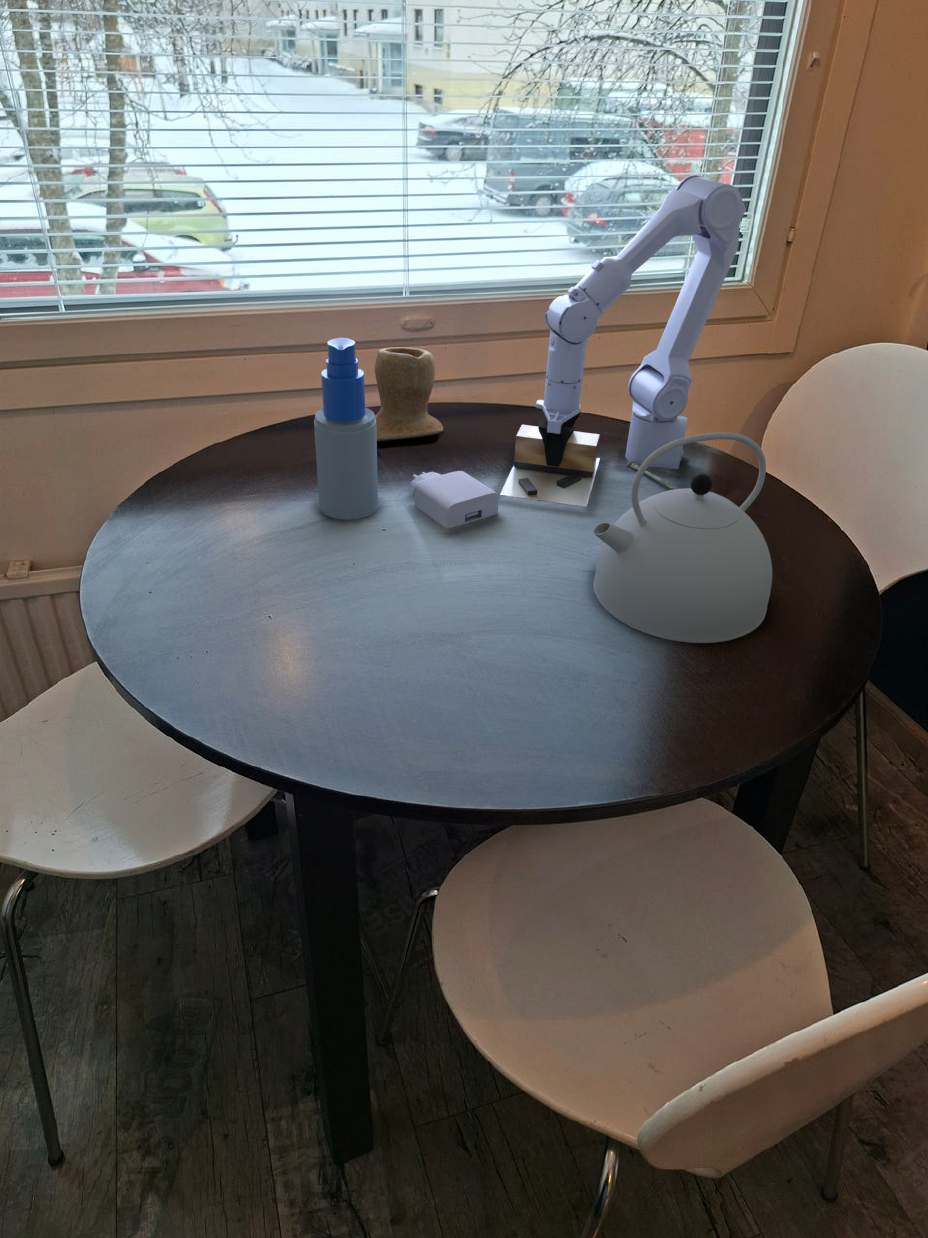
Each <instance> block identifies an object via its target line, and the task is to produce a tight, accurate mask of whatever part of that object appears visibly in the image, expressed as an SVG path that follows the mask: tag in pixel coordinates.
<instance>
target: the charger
mask: <svg viewBox="0 0 928 1238" xmlns="http://www.w3.org/2000/svg"><path fill="white" fill-rule="evenodd" d="M412 478H414V479H412V480H411V481H410V483H409V484H410V486H412V487H413V488H414V506H415V507H416V508H417V509H419V510H420V511H421V512H423V513H424V514H426V515H427V516H428V517H429V518H431V519H432V520H434V522H436V523H438V524H439V525H440V526H442V527H443V528H444V529H446V530H449V529H452V528H456V527H459V526H463V525H467V524H469V523H472V522H476V521H480V520H482V519H486V518H489V517H491V516H495V515H498V514H499V503H500V501H499V500H500V494H499V493H498V492H496V491H495V490H493V489H491V488H490V487H488V486H486V485H485V484H483V483H482V482H480V481H479V480H477V479H476V478H475V477H473V476H471V475H470V474H468V473H467V472H465V471H463V470H457V471H451V472H448V473H444V474H440V473H438V472H435V471H430V472H425V471H422V472H421V474H419V475H417V474H415V473H414V474H412Z"/></svg>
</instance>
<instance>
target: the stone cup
mask: <svg viewBox="0 0 928 1238" xmlns="http://www.w3.org/2000/svg"><path fill="white" fill-rule="evenodd" d="M435 375H436V368H435V358H434V355H433V354H432V353H431V352H430V351H428V350H425V349H422V348H417V347H409V346H396V347H395V346H394V347H385V348H380V349H379V350H378V351H377V353H376V358H375V361H374V376H375V381H376V385H377V390H378V395H379V401H380V409H379V411H378V412H377V413H376V414H375V419H376V436H377V442H387V441H388V442H389V441H396V440H398V441H399V440H407V439H416V438H423V437H428V436H435V435H438V434H441V433H442V432H443V431H444V426H443V424H442V422H440V421H439V420H438V419H437V418H436V417H434V416H432V415H431V414H429V413H428V406H429V400H430V396H431V394H432V391H433V387H434V383H435Z"/></svg>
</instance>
